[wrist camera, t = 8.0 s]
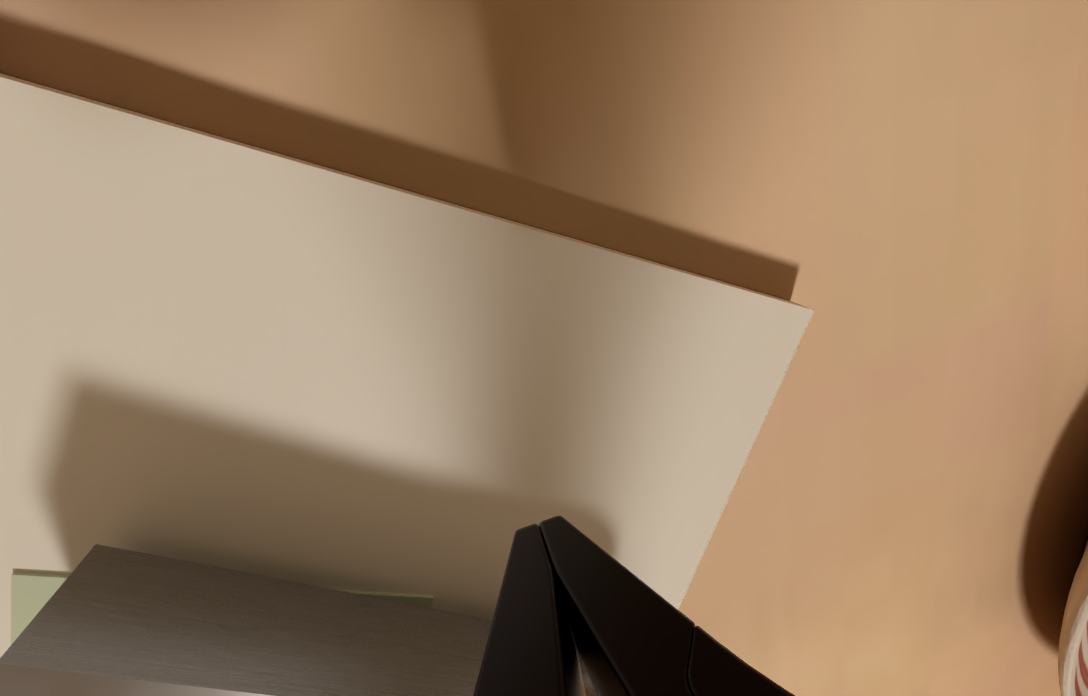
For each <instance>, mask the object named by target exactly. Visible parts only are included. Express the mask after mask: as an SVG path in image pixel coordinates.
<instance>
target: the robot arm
mask: <svg viewBox="0 0 1088 696" xmlns="http://www.w3.org/2000/svg"><path fill="white" fill-rule="evenodd" d="M539 527H540V528H539ZM569 625H570V626H569ZM571 632H572V633H571ZM572 635H573V636H572ZM573 638H574V639H573ZM574 641H575V643H574ZM575 644H576V647H577V650H578V653H579V655H580V657H581V660H582V662H583V665H584V667H585V669H586V671H587V674H588V676H589V678H590V680H591V683H592V685H593V687H594V689H595V692H596V694H597V696H795V695H793V694H792V693H790V692H788V691H787V690H785V689H784V688H782V687H781V686H779V685H778V684H776V683H775V682H773V681H772V680H770V679H769V678H767V677H766V676H764V675H763V674H761V673H760V672H758V671H757V670H755V669H754V668H752V667H751V666H750V665H748V664H747V663H745V662H744V661H743V660H741V659H740V658H739V657H737V656H736V655H735V654H733V653H732V652H731V651H729V650H728V649H727V648H726V647H724V646H723V645H722V644H720V643H719V642H718V641H716V640H715V639H714V638H713V637H711V636H710V635H709V634H708V633H706V632H705V631H704V630H703V629H702V628H700V627H699V626H695V624H694V622H693V621H691V620H690V619H689V618H688V617H686V616H685V615H684V614H683V613H681V612H680V611H679V610H678V609H676V608H675V607H674V606H673V605H671V604H670V603H669V602H668V601H666V600H665V599H664V598H663V597H662V596H660V595H659V594H658V593H657V592H655V591H654V590H653V589H652V588H650V587H649V586H648V585H647V584H645V583H644V582H643V581H642V580H640V579H639V578H638V577H637V576H635V575H634V574H633V573H632V572H631V571H629V570H628V569H627V568H626V567H624V566H623V565H622V564H621V563H619V562H618V561H617V560H616V559H614V558H613V557H612V556H611V555H609V554H608V553H607V552H606V551H604V550H603V549H602V548H601V547H600V546H598V545H597V544H596V543H595V542H593V541H592V540H591V539H590V538H588V537H587V536H586V535H585V534H583V533H582V532H581V531H580V530H578V529H577V528H576V527H575V526H573V525H572V524H571V523H570V522H569V521H567V520H566V519H565V518H563V517H562V516H555V517H552V518H549V519H546V520H543V521H541V522H540V524H539V526H538V525H537V524H532V525H529V526H526V527H523V528H520V529H518V530H516V532H515V534H514V538H513V542H512V545H511V549H510V553H509V557H508V561H507V565H506V569H505V573H504V577H503V581H502V585H501V589H500V593H499V596H498V600H497V604H496V608H495V612H494V616H493V620H492V624H491V628H490V632H489V636H488V640H487V644H486V647H485V651H484V655H483V659H482V663H481V667H480V671H479V675H478V679H477V683H476V687H475V691H474V695H473V696H586V694H585V689H584V683H583V678H582V673H581V668H580V663H579V659H578V654H577V650H576V647H575Z"/></svg>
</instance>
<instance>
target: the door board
mask: <svg viewBox="0 0 1088 696" xmlns="http://www.w3.org/2000/svg"><path fill="white" fill-rule="evenodd" d="M813 312H814V310H812V309H810V308H807V307H805V306H802V305H799V304H797V303H794V302H792V301H788V300H785V299H781V298H778V297H774V296H771V295H767V294H764V293H761V292H757V291H754V290H750V289H747V288H743V287H740V286H736V285H733V284H729V283H726V282H722V281H719V280H715V279H712V278H709V277H705V276H702V275H698V274H695V273H691V272H688V271H684V270H681V269H677V268H674V267H670V266H667V265H664V264H660V263H657V262H653V261H650V260H646V259H643V258H639V257H636V256H632V255H629V254H625V253H622V252H618V251H615V250H612V249H608V248H605V247H601V246H598V245H594V244H591V243H587V242H584V241H580V240H577V239H573V238H570V237H566V236H563V235H560V234H556V233H553V232H549V231H546V230H542V229H539V228H535V227H532V226H528V225H525V224H521V223H518V222H514V221H511V220H508V219H504V218H501V217H497V216H494V215H490V214H487V213H483V212H480V211H476V210H473V209H469V208H466V207H462V206H459V205H456V204H452V203H449V202H445V201H442V200H438V199H435V198H431V197H428V196H424V195H421V194H417V193H414V192H410V191H407V190H404V189H400V188H397V187H393V186H390V185H386V184H383V183H379V182H376V181H372V180H369V179H365V178H362V177H358V176H355V175H352V174H348V173H345V172H341V171H338V170H334V169H331V168H327V167H324V166H320V165H317V164H313V163H310V162H306V161H303V160H300V159H296V158H293V157H289V156H286V155H282V154H279V153H275V152H272V151H268V150H265V149H261V148H258V147H254V146H251V145H248V144H244V143H241V142H237V141H234V140H230V139H227V138H223V137H220V136H216V135H213V134H209V133H206V132H203V131H199V130H196V129H192V128H189V127H185V126H182V125H178V124H175V123H171V122H168V121H164V120H161V119H157V118H154V117H151V116H147V115H144V114H140V113H137V112H133V111H130V110H126V109H123V108H119V107H116V106H112V105H109V104H105V103H102V102H99V101H95V100H92V99H88V98H85V97H81V96H78V95H74V94H71V93H67V92H64V91H60V90H57V89H53V88H50V87H47V86H43V85H40V84H36V83H33V82H29V81H26V80H22V79H19V78H15V77H12V76H8V75H5V74H1V73H0V658H1V657H2V656H3V654H4V653H5V652H6V651H7V650H8V648H9V647H10V646H11V645H12V644H13V642H14V641H15V640H16V639H17V638H18V636H19V635H20V634H21V633H22V632H23V630H24V629H25V628H26V627H27V626H28V624H29V623H30V622H31V621H32V620H33V618H34V617H35V616H36V615H37V614H38V613H39V611H40V610H41V609H42V608H43V607H44V605H45V604H46V603H47V602H48V601H49V599H50V598H51V597H52V596H53V595H54V593H55V592H56V591H57V590H58V589H59V587H60V586H61V585H62V584H63V583H64V581H65V580H66V579H67V578H68V577H69V576H70V574H71V573H72V572H73V571H74V570H75V568H76V567H77V566H78V565H79V564H80V562H81V561H82V560H83V559H84V558H85V556H86V555H87V554H88V553H89V552H90V550H91V549H92V548H93V547H94V546H95V544H99V545H104V546H109V547H114V548H120V549H125V550H130V551H135V552H140V553H146V554H151V555H156V556H161V557H167V558H172V559H177V560H182V561H188V562H193V563H198V564H203V565H209V566H214V567H219V568H224V569H229V570H235V571H240V572H245V573H250V574H256V575H261V576H266V577H271V578H277V579H282V580H287V581H292V582H297V583H303V584H308V585H313V586H318V587H324V588H329V589H334V590H339V591H345V592H350V593H355V594H360V595H365V596H371V597H376V598H381V599H386V600H392V601H397V602H402V603H407V604H413V605H418V606H423V607H428V608H433V609H439V610H444V611H449V612H454V613H460V614H465V615H470V616H475V617H481V618H486V619H491V620H493V616H494V612H495V608H496V604H497V600H498V596H499V593H500V589H501V585H502V581H503V577H504V573H505V569H506V565H507V561H508V557H509V553H510V549H511V545H512V542H513V538H514V534H515V532H516V530H518V529H520V528H523V527H526V526H529V525H532V524H537V525H538V526H539V524H540V522H541V521H543V520H546V519H549V518H552V517H555V516H562V517H563V518H565V519H566V520H567V521H569V522H570V523H571V524H572V525H573V526H575V527H576V528H577V529H578V530H580V531H581V532H582V533H583V534H585V535H586V536H587V537H588V538H590V539H591V540H592V541H593V542H595V543H596V544H597V545H598V546H600V547H601V548H602V549H603V550H604V551H606V552H607V553H608V554H609V555H611V556H612V557H613V558H614V559H616V560H617V561H618V562H619V563H621V564H622V565H623V566H624V567H626V568H627V569H628V570H629V571H631V572H632V573H633V574H634V575H635V576H637V577H638V578H639V579H640V580H642V581H643V582H644V583H645V584H647V585H648V586H649V587H650V588H652V589H653V590H654V591H655V592H657V593H658V594H659V595H660V596H662V597H663V598H664V599H665V600H666V601H668V602H669V603H670V604H671V605H673V606H674V607H675V608H676V609H679V607H680V605H681V602H682V600H683V598H684V596H685V594H686V591H687V589H688V587H689V585H690V583H691V580H692V578H693V576H694V574H695V572H696V569H697V567H698V565H699V563H700V561H701V558H702V556H703V554H704V552H705V550H706V547H707V545H708V543H709V541H710V539H711V536H712V534H713V532H714V530H715V528H716V525H717V523H718V521H719V519H720V517H721V514H722V512H723V510H724V508H725V506H726V503H727V501H728V499H729V497H730V495H731V492H732V490H733V488H734V486H735V484H736V481H737V479H738V477H739V475H740V473H741V470H742V468H743V466H744V464H745V462H746V459H747V457H748V455H749V453H750V451H751V448H752V446H753V444H754V442H755V440H756V437H757V435H758V433H759V431H760V429H761V426H762V424H763V422H764V420H765V418H766V415H767V413H768V411H769V409H770V407H771V404H772V402H773V400H774V398H775V396H776V394H777V391H778V389H779V387H780V385H781V383H782V380H783V378H784V376H785V374H786V372H787V369H788V367H789V365H790V363H791V361H792V358H793V356H794V354H795V352H796V350H797V347H798V345H799V343H800V341H801V339H802V336H803V334H804V332H805V330H806V328H807V325H808V323H809V321H810V319H811V317H812V314H813ZM539 528H540V527H539ZM569 626H570V625H569Z"/></svg>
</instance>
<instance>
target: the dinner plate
mask: <svg viewBox="0 0 1088 696" xmlns="http://www.w3.org/2000/svg"><path fill="white" fill-rule="evenodd" d="M1058 672H1059V685H1060V691H1061V696H1088V540H1087V543H1086V546H1085V550H1084V555H1083V557H1082V560H1081V562H1080V564H1079V567H1078V569H1077V571H1076V574H1075V577H1074V580H1073V583H1072V586H1071V589H1070V592H1069V596H1068V600H1067V604H1066V608H1065V612H1064V617H1063V623H1062V628H1061V634H1060V640H1059V656H1058Z"/></svg>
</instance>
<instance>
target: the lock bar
mask: <svg viewBox="0 0 1088 696" xmlns="http://www.w3.org/2000/svg"><path fill="white" fill-rule="evenodd" d="M491 624H492V620H491V619H486V618H481V617H475V616H470V615H465V614H460V613H454V612H449V611H444V610H439V609H433V608H428V607H423V606H418V605H413V604H407V603H402V602H397V601H392V600H386V599H381V598H376V597H371V596H365V595H360V594H355V593H350V592H345V591H339V590H334V589H329V588H324V587H318V586H313V585H308V584H303V583H297V582H292V581H287V580H282V579H277V578H271V577H266V576H261V575H256V574H250V573H245V572H240V571H235V570H229V569H224V568H219V567H214V566H209V565H203V564H198V563H193V562H188V561H182V560H177V559H172V558H167V557H161V556H156V555H151V554H146V553H140V552H135V551H130V550H125V549H120V548H114V547H109V546H104V545H99V544H95V546H94V547H93V548H92V549H91V550H90V552H89V553H88V554H87V555H86V556H85V558H84V559H83V560H82V561H81V562H80V564H79V565H78V566H77V567H76V568H75V570H74V571H73V572H72V573H71V574H70V576H69V577H68V578H67V579H66V580H65V581H64V583H63V584H62V585H61V586H60V587H59V589H58V590H57V591H56V592H55V593H54V595H53V596H52V597H51V598H50V599H49V601H48V602H47V603H46V604H45V605H44V607H43V608H42V609H41V610H40V611H39V613H38V614H37V615H36V616H35V617H34V618H33V620H32V621H31V622H30V623H29V624H28V626H27V627H26V628H25V629H24V630H23V632H22V633H21V634H20V635H19V636H18V638H17V639H16V640H15V641H14V642H13V644H12V645H11V646H10V647H9V648H8V650H7V651H6V652H5V653H4V654H3V656H2V657H1V658H0V696H473V695H474V691H475V687H476V683H477V679H478V675H479V671H480V667H481V663H482V659H483V655H484V651H485V647H486V644H487V640H488V636H489V632H490V628H491ZM571 633H572V632H571ZM572 636H573V635H572ZM573 639H574V638H573ZM574 643H575V641H574ZM575 647H576V644H575ZM576 650H577V647H576ZM577 654H578V659H579V663H580V668H581V673H582V678H583V683H584V689H585V694H586V696H597V694H596V692H595V689H594V687H593V685H592V683H591V680H590V678H589V676H588V674H587V671H586V669H585V667H584V665H583V662H582V660H581V657H580V655H579V653H578V650H577Z"/></svg>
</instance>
